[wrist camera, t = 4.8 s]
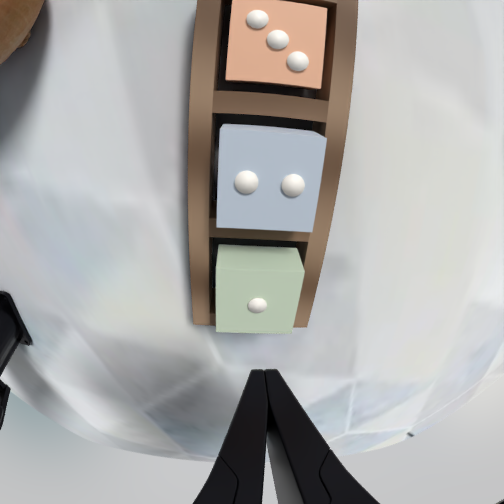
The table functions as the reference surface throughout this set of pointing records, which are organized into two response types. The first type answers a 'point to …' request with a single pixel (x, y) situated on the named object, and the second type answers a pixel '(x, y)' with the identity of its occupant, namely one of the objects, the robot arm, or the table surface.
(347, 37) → the key strip
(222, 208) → the key two blue
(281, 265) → the key one sage
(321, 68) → the key three terracotta
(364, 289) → the table surface
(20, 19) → the onion
